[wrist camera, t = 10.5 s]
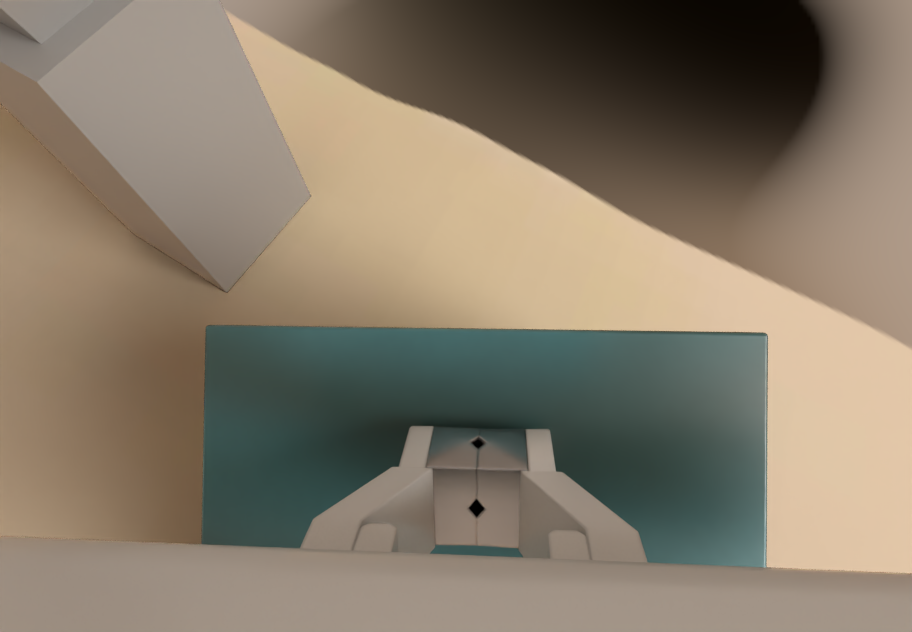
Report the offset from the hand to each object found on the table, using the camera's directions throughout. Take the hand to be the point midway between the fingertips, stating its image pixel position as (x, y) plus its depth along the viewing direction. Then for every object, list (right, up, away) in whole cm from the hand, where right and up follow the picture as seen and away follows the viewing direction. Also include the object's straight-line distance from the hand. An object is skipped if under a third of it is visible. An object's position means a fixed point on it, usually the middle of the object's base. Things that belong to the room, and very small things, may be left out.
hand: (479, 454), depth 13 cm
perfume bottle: (-13, +8, +19) cm, 24 cm away
